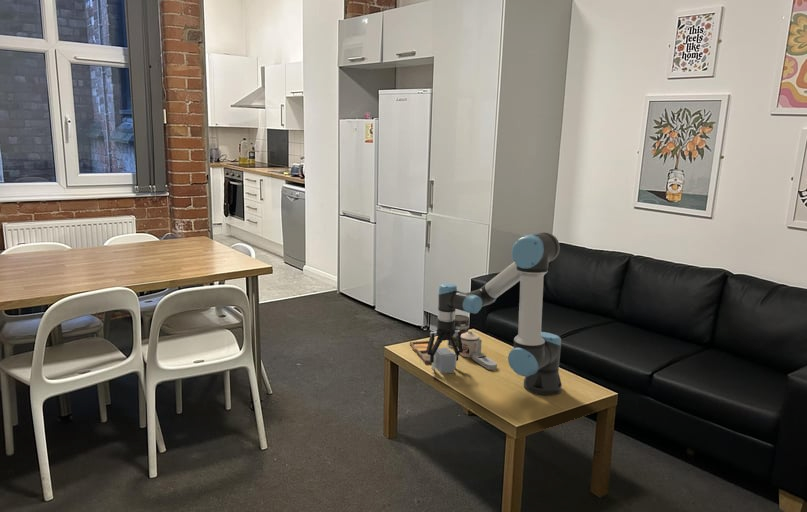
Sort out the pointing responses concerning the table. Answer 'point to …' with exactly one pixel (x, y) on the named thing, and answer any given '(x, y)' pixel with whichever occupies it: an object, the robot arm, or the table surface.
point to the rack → (421, 350)
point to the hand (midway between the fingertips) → (443, 368)
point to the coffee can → (460, 327)
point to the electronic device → (483, 358)
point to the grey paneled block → (444, 360)
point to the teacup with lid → (469, 344)
